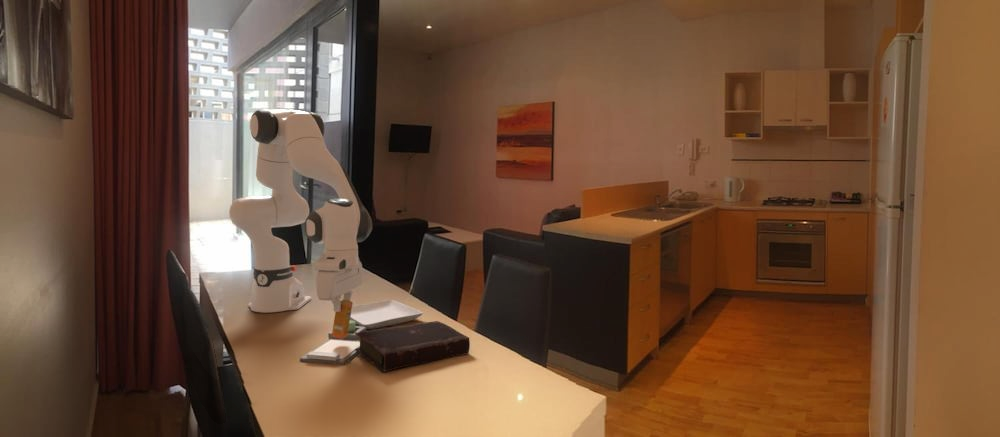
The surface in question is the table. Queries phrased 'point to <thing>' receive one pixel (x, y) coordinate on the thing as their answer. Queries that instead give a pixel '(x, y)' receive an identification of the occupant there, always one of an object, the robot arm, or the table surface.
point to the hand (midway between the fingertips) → (342, 309)
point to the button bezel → (350, 334)
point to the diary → (411, 344)
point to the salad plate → (383, 314)
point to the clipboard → (333, 352)
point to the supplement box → (342, 320)
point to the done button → (352, 327)
